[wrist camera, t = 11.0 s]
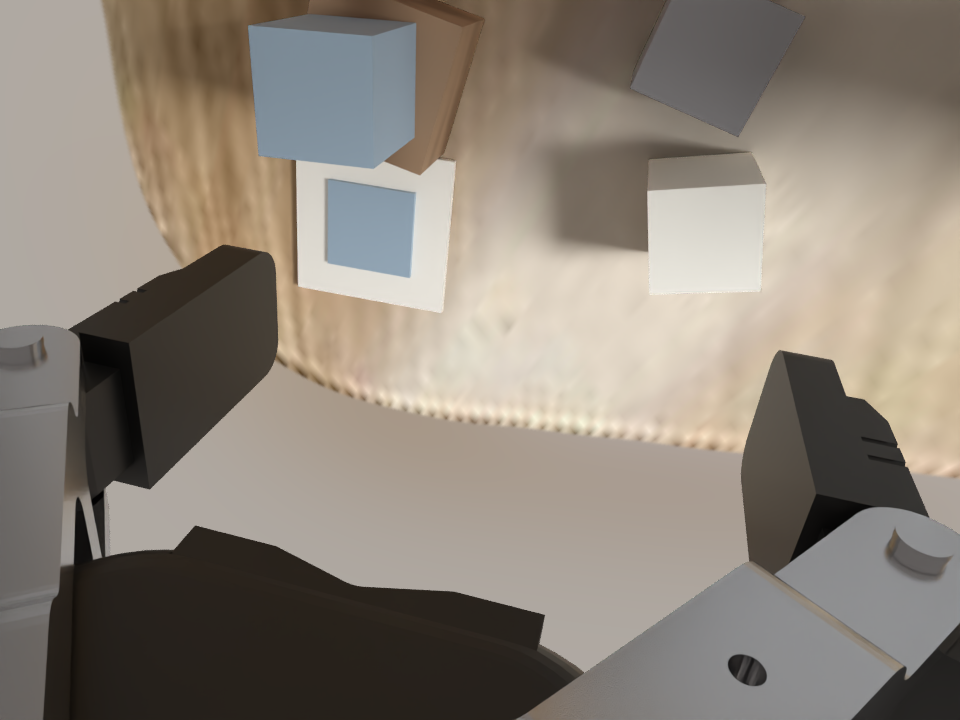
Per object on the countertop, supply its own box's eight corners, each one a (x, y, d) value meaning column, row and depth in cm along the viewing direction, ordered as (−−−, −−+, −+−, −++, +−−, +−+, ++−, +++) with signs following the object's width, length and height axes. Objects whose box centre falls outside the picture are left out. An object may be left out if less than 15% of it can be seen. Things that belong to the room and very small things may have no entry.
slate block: (416, 22, 34) (372, 36, 29) (414, 137, 36) (373, 168, 31) (309, 13, 35) (247, 25, 29) (314, 127, 37) (258, 155, 32)
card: (456, 160, 41) (453, 163, 41) (443, 310, 46) (440, 315, 45) (298, 135, 42) (293, 138, 42) (300, 283, 47) (296, 288, 46)
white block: (751, 151, 38) (766, 183, 33) (747, 247, 40) (760, 291, 35) (648, 159, 39) (647, 190, 34) (650, 251, 41) (649, 294, 36)
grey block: (783, 7, 35) (805, 16, 30) (727, 111, 37) (737, 136, 32) (684, -38, 35) (688, -36, 30) (634, 69, 37) (629, 88, 32)
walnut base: (485, 18, 38) (463, 27, 33) (445, 152, 41) (419, 175, 37) (354, -33, 38) (315, -30, 34) (325, 105, 41) (286, 123, 37)
